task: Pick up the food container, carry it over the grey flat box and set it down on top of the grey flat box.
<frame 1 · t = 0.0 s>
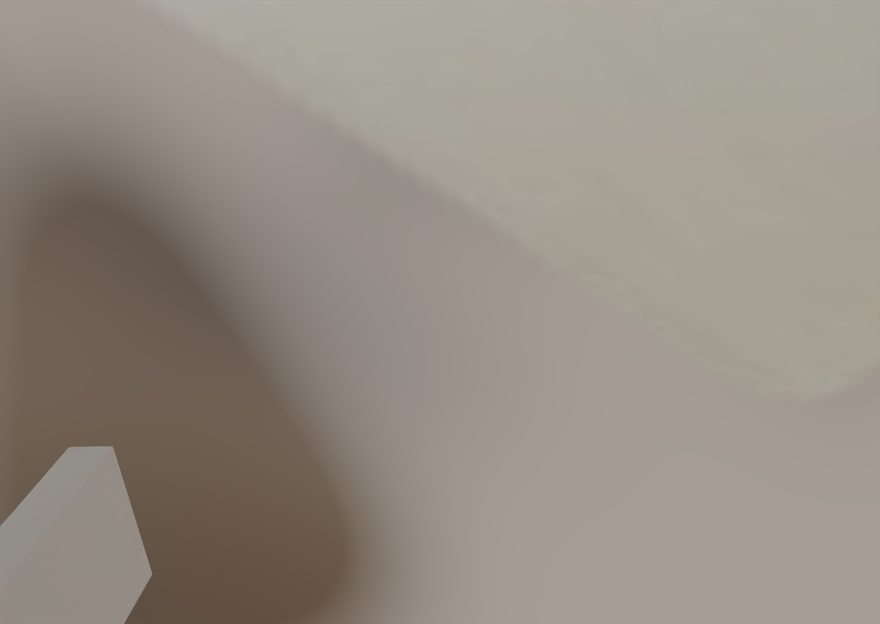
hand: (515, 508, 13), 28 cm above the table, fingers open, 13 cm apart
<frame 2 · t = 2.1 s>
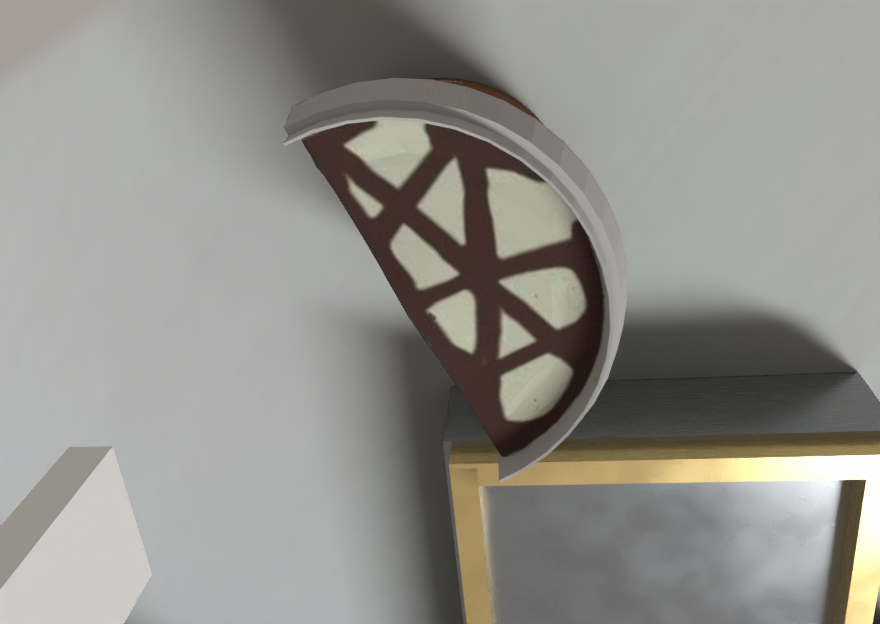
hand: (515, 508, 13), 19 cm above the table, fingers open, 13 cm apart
food container: (510, 168, 30), on the table
grey flat box: (646, 570, 37), on the table
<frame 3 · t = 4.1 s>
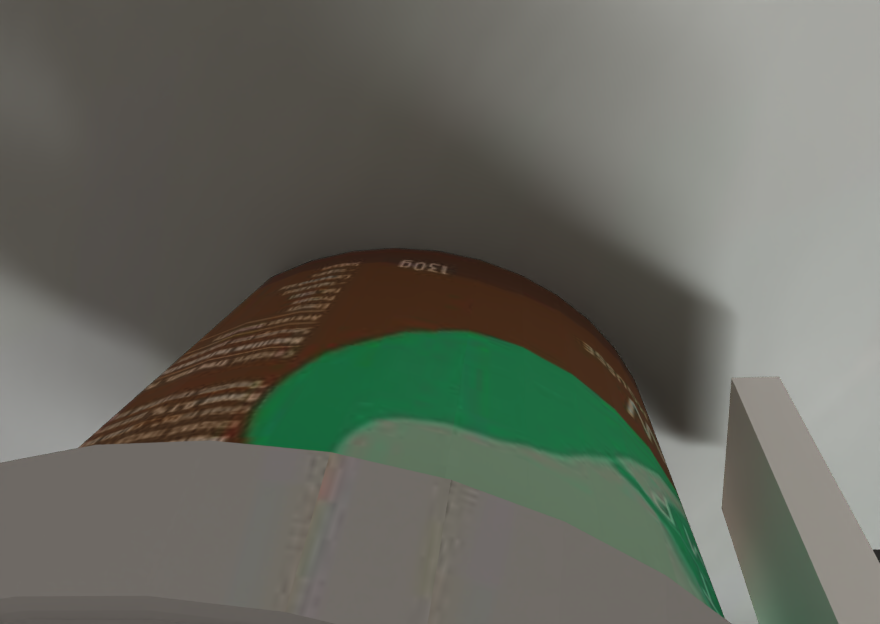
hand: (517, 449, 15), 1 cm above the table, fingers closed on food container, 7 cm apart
food container: (539, 411, 16), on the table, touching gripper
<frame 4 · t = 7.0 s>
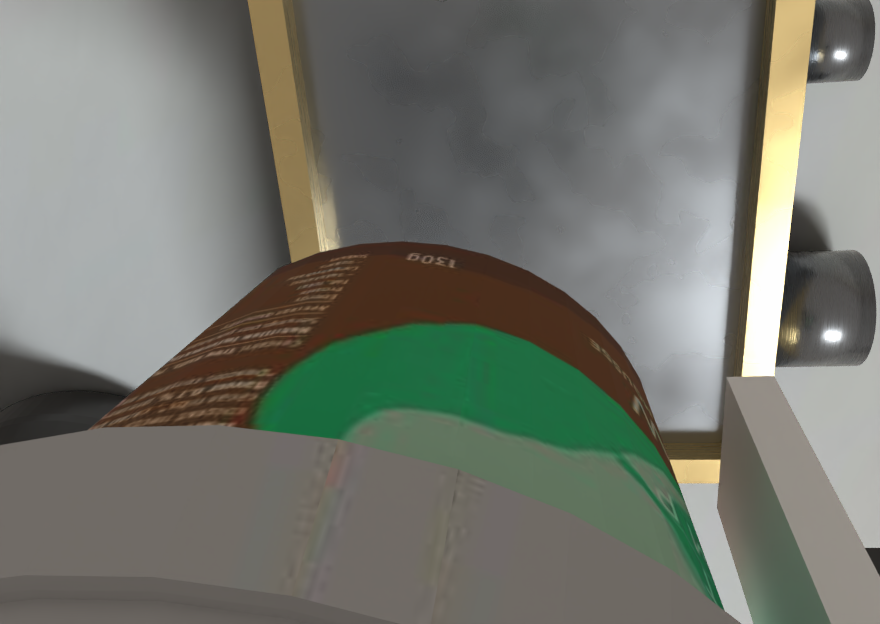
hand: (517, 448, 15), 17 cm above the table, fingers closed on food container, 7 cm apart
food container: (543, 407, 16), point 16 cm above the table, touching gripper
grey flat box: (530, 180, 30), on the table
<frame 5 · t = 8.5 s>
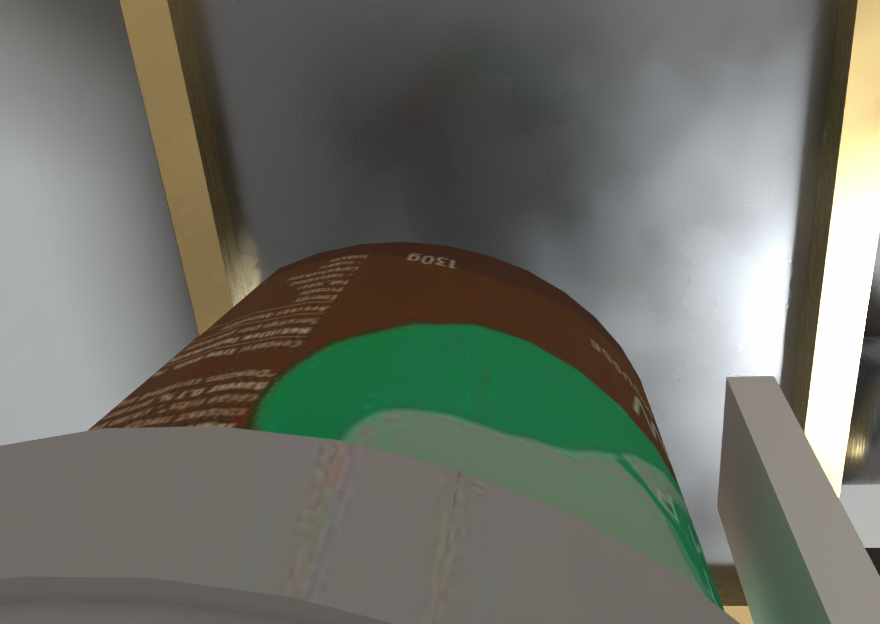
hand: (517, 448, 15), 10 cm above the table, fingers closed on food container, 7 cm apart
food container: (544, 407, 16), point 9 cm above the table, touching gripper
grey flat box: (518, 245, 24), on the table
when the fingers open (8 cm above the table, at t = 9.5 s): food container drops 2 cm, resting on grey flat box.
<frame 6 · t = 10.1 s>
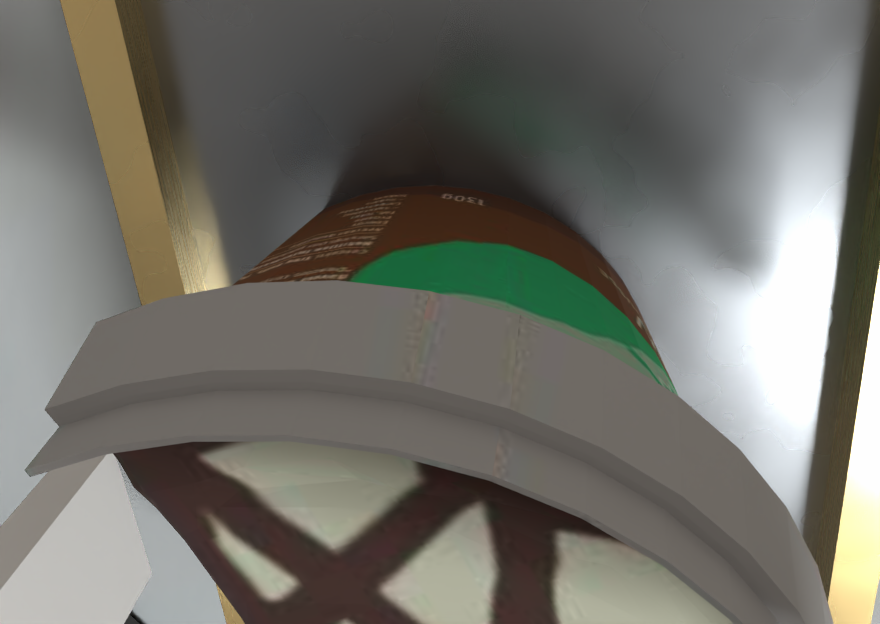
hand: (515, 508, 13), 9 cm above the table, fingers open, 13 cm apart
food container: (554, 337, 18), point 4 cm above the table, touching grey flat box
grey flat box: (521, 278, 21), on the table
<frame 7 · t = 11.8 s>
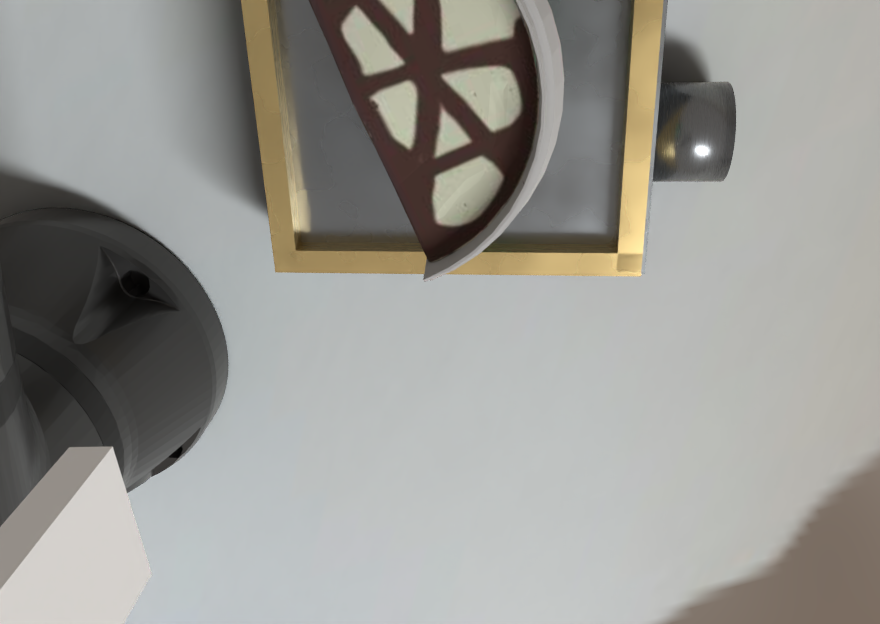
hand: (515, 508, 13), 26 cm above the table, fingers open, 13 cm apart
food container: (470, 21, 31), point 4 cm above the table, touching grey flat box
grey flat box: (458, 17, 35), on the table
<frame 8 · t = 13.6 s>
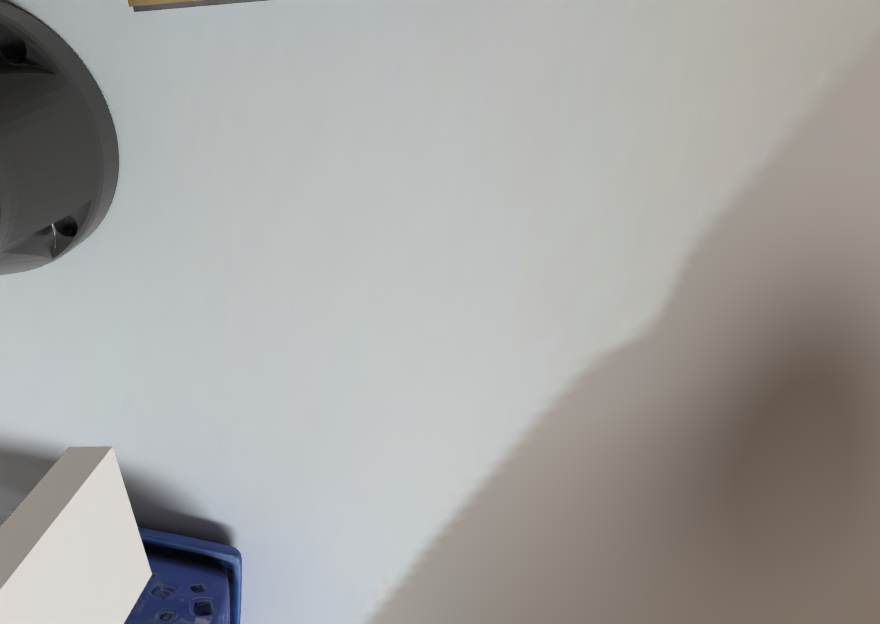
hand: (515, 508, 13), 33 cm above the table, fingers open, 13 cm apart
flower pot: (174, 578, 60), on the table
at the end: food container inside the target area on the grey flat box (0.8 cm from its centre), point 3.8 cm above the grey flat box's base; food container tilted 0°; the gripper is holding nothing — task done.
